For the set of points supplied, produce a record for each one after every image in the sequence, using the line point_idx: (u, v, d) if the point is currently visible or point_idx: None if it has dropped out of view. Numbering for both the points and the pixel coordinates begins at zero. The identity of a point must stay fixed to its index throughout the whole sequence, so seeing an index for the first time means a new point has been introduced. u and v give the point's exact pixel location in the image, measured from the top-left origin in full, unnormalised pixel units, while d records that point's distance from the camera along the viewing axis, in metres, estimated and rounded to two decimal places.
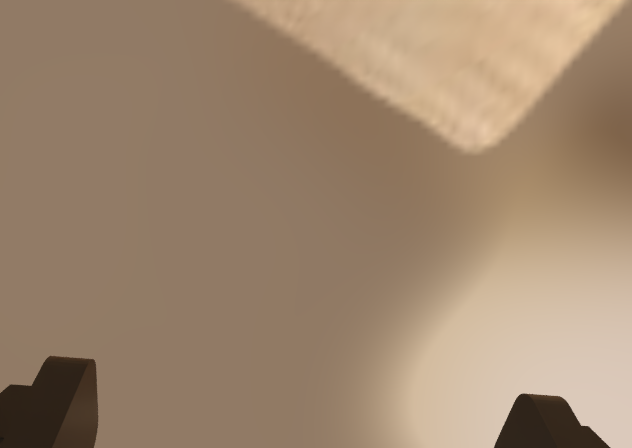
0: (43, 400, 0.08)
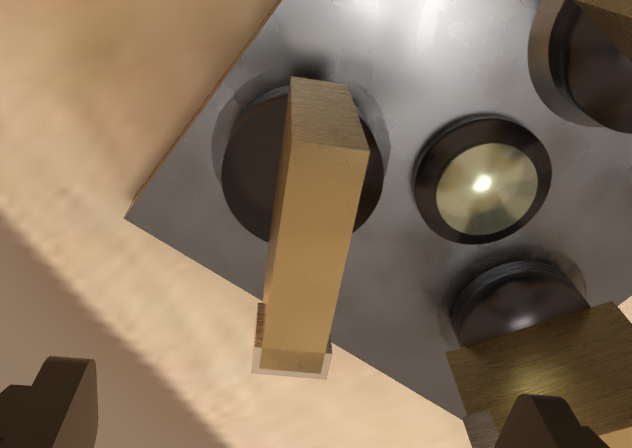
0: (43, 400, 0.08)
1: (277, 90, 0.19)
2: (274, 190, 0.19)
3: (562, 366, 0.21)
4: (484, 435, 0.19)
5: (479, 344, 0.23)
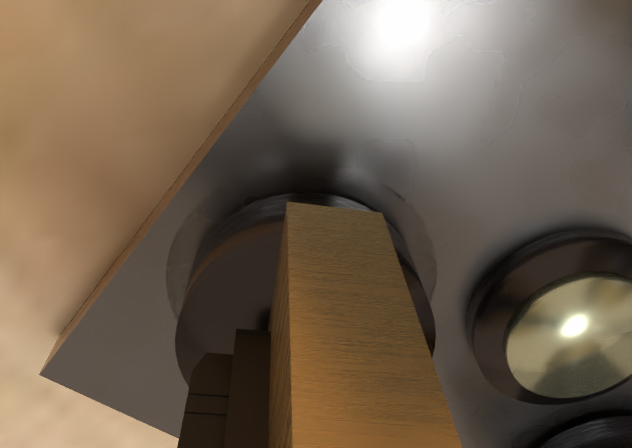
0: (248, 363, 0.10)
1: (265, 205, 0.12)
2: None
3: None
4: None
5: None
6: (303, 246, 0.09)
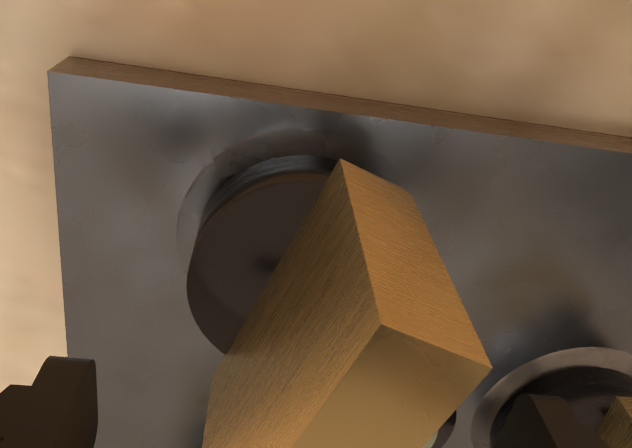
0: (43, 400, 0.08)
1: (302, 159, 0.14)
2: (259, 294, 0.13)
3: None
4: None
5: None
6: (359, 194, 0.11)
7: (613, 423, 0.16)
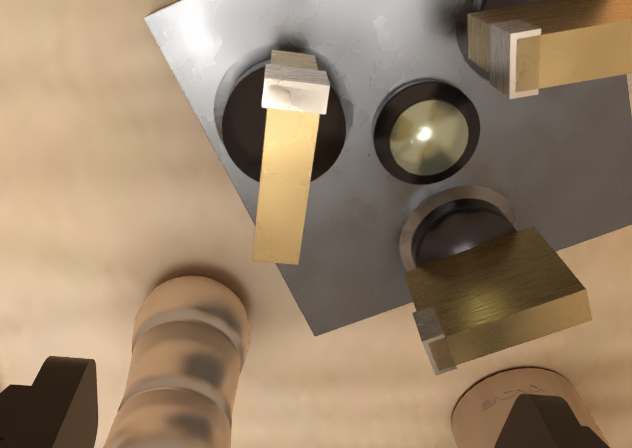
0: (43, 400, 0.08)
1: None
2: (540, 0, 0.23)
3: None
4: None
5: None
6: None
7: (523, 234, 0.28)
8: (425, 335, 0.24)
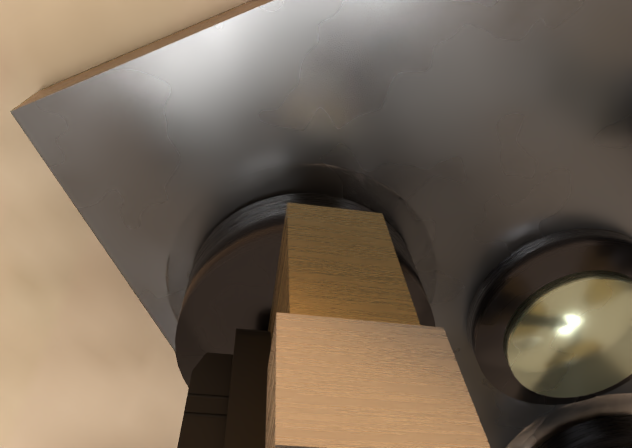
0: (248, 363, 0.10)
1: None
2: None
3: None
4: None
5: None
6: None
7: None
8: None
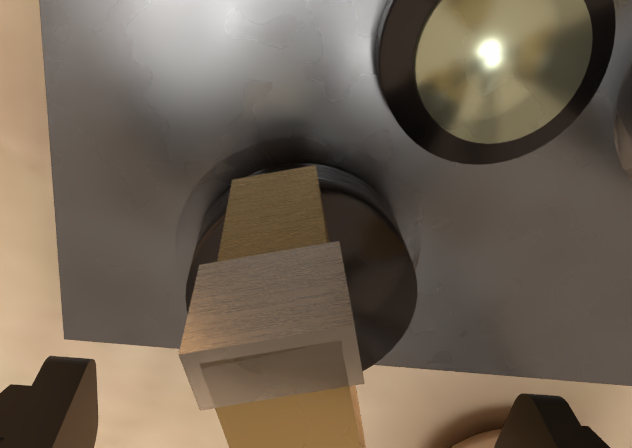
0: (43, 400, 0.08)
1: None
2: None
3: None
4: None
5: None
6: None
7: None
8: None
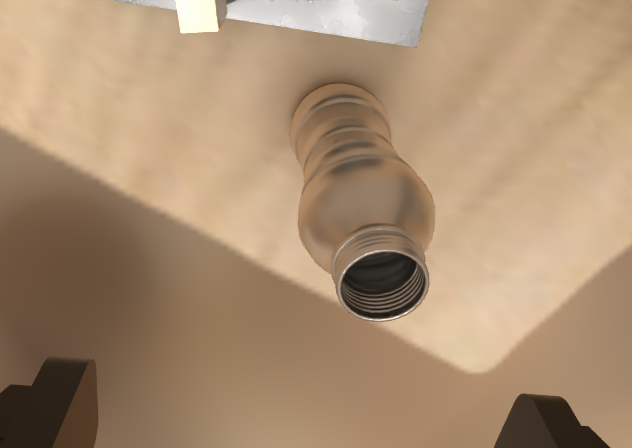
0: (43, 400, 0.08)
1: None
2: None
3: None
4: None
5: None
6: None
7: None
8: None
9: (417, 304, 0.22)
